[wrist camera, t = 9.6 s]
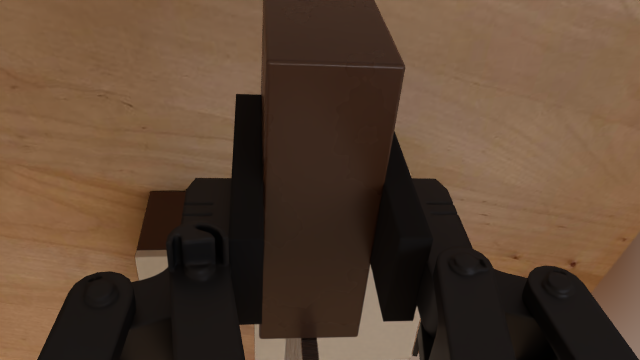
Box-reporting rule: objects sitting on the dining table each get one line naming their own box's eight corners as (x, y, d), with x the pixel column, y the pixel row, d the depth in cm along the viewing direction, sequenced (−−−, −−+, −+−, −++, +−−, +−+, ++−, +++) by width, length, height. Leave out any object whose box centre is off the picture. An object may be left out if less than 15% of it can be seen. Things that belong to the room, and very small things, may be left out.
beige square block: (393, 293, 45) (410, 359, 40) (254, 297, 44) (254, 365, 39) (413, 188, 39) (435, 251, 34) (253, 190, 38) (253, 255, 33)
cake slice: (227, 298, 43) (224, 366, 39) (165, 300, 43) (154, 369, 38) (222, 190, 38) (217, 255, 33) (150, 191, 37) (134, 257, 32)
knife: (263, -18, 16) (266, 87, 11) (370, -12, 17) (419, 91, 12) (253, 439, 30) (253, 578, 25) (312, 437, 30) (324, 573, 25)
